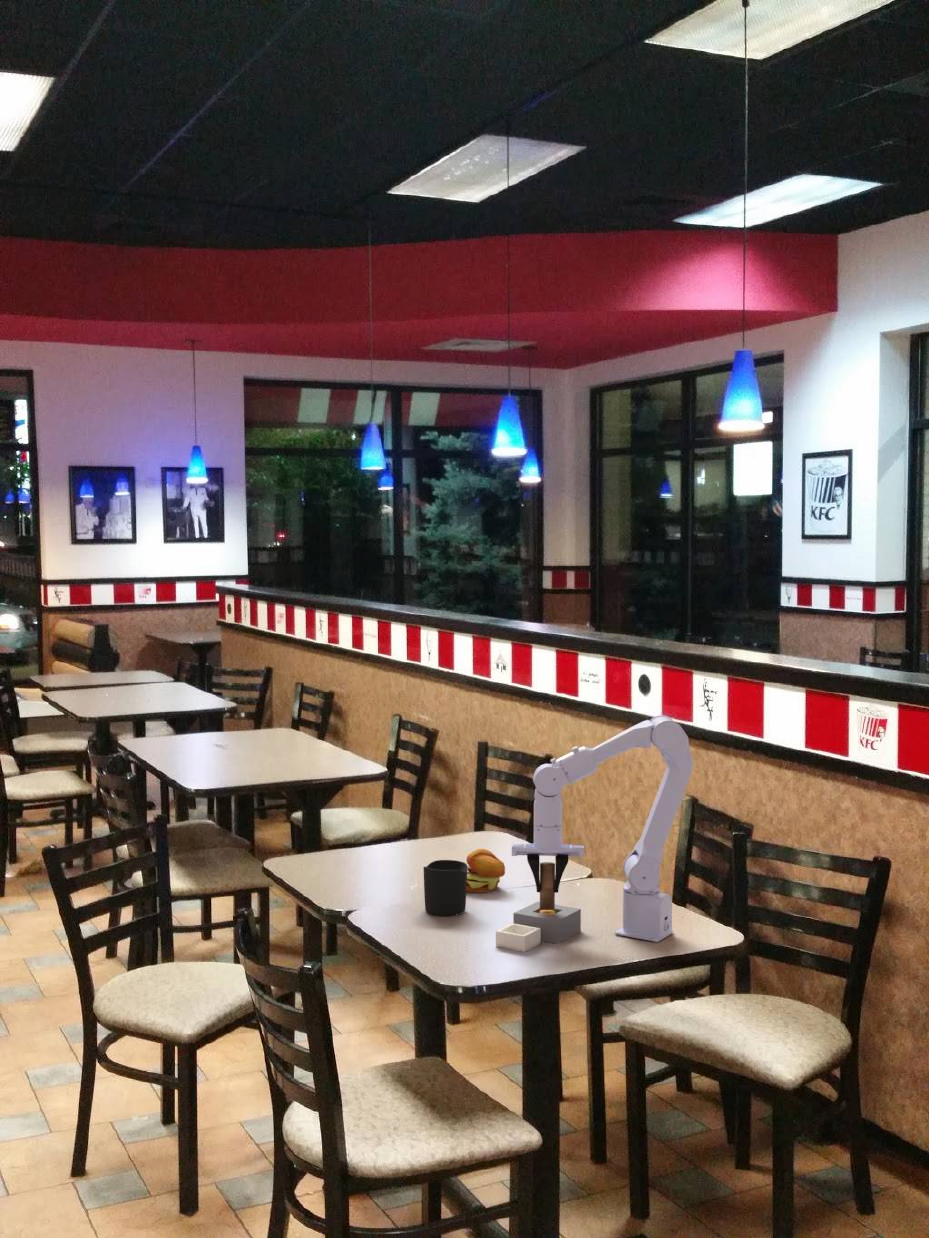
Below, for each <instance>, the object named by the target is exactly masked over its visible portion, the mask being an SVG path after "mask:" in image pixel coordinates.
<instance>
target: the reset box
mask: <svg viewBox="0 0 929 1238" xmlns="http://www.w3.org/2000/svg"><path fill="white" fill-rule="evenodd" d="M541 910H542V909H540V901H536V902H534V903H532V904H530V905H528V906H526V907H523V908H522V909H518V910H517V911H514V912H513V914H512V915H513V916H512V917H513V922H512V923H514V924H519V925H525V926H530V927H536V928H541V941H543V942H547V943H548V942H549V943H553V944H559V943H561V942H563V941H565V940H566V939H569V938H570V937H573V936H574V935H576V934H577V933H579V932H581V929H582V927H581V926H582V924H581V923H582V922H581V919H582V916H581V915H582V908H577V907H571V906H567V905H559V904H555V909H553V911H555V912H556V914H554V915H547V914H541V913H538V912H540V911H541Z"/></svg>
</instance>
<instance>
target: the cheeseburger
mask: <svg viewBox="0 0 929 1238" xmlns="http://www.w3.org/2000/svg"><path fill="white" fill-rule="evenodd" d="M466 864H467V888H466V892H470V893H477V894H478V893H481V894H482V893H488V892H493V891H495V890H496V889H497V888H498V885H499V883H500V881H501V877H504V876H505V874H506V866H505V864H504V862H503V861H502V860H501V859H499V858H498V857H497V856H496V855H495V854H494V853H493V852H492V851H490V850H488V849H485V848H477V849H476V850H473V851H472V852H470V853H469V854H468V855H467V856H466Z"/></svg>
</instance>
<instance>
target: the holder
mask: <svg viewBox="0 0 929 1238" xmlns="http://www.w3.org/2000/svg"><path fill="white" fill-rule="evenodd" d="M541 941H542V940H541V928H536V927H530V926H525V925H519V924H514V923H513V922H512V923H510V924H507V925H506V926H503V927H502V928H500V929H497V930H496V931H495V947H498V948H501V949H507V950H513V951H517V952H522V953H525V952H527V951H529V950H532V949H533V948H535V947H536V946H539V945H540V944H541Z"/></svg>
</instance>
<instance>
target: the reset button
mask: <svg viewBox="0 0 929 1238" xmlns="http://www.w3.org/2000/svg"><path fill="white" fill-rule="evenodd" d="M538 913H541V914H547V915H554V914H556V912H555V911H553V910H541V911H540V912H538Z"/></svg>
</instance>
